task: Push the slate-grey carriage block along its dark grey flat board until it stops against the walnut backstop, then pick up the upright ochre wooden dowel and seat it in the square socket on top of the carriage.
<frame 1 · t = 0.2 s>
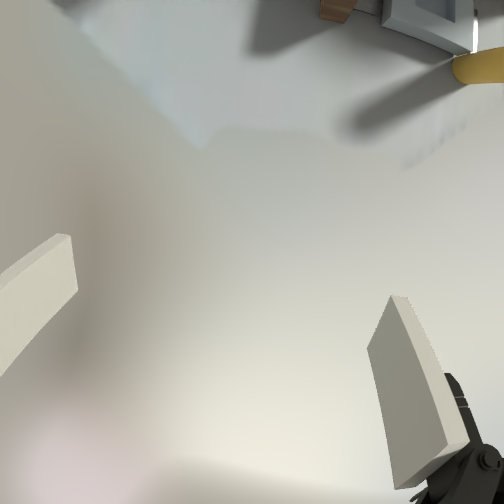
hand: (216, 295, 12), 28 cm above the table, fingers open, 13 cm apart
dark grey flat board: (419, 5, 24), on the table
carriage: (429, 1, 22), point 2 cm above the table, slide at 0.0 cm
dowel: (463, 70, 27), on the table
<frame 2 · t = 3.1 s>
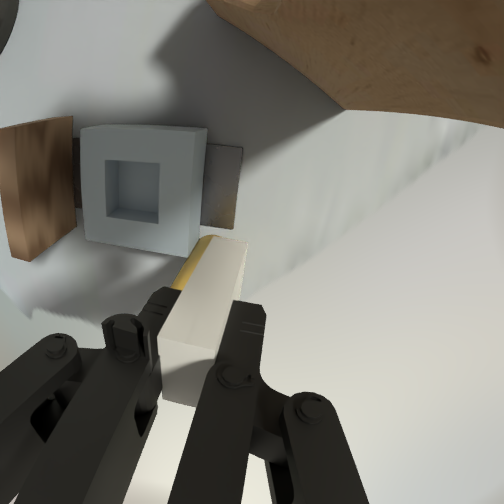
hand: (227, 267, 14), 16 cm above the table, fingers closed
decorative block: (307, 30, 22), on the table
dark grey flat board: (146, 178, 29), on the table
carriage: (140, 185, 27), point 2 cm above the table, slide at 0.0 cm
backstop: (63, 172, 29), on the table
dowel: (213, 252, 32), on the table
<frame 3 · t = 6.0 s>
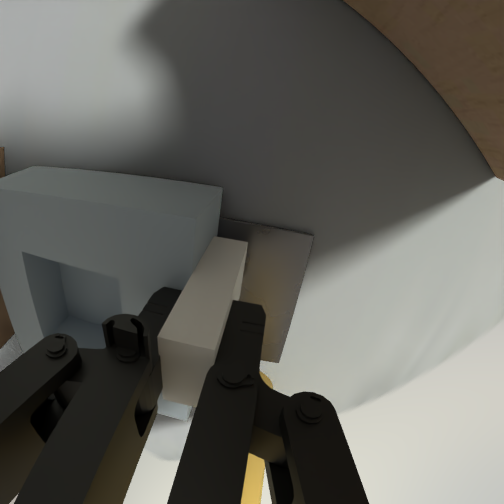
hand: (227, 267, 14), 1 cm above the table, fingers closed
decorative block: (443, 16, 9), on the table
dark grey flat board: (124, 271, 16), on the table
carriage: (95, 292, 14), point 2 cm above the table, slide at 1.0 cm, touching gripper
backstop: (0, 238, 16), on the table
dowel: (241, 386, 19), on the table
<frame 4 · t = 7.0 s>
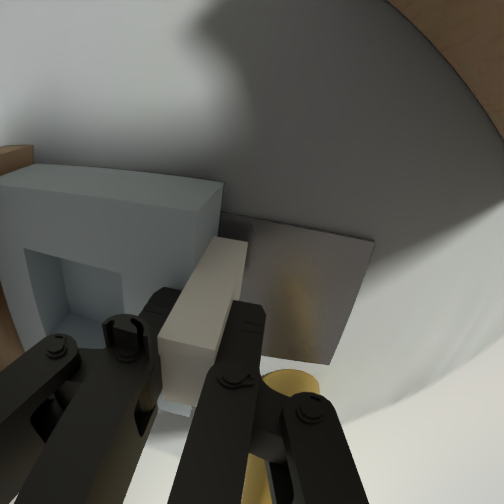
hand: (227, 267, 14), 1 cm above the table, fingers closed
decorative block: (487, 37, 9), on the table
dark grey flat board: (175, 278, 16), on the table
carriage: (96, 289, 14), point 2 cm above the table, slide at 3.9 cm, touching gripper
backstop: (26, 243, 16), on the table
dowel: (288, 389, 19), on the table
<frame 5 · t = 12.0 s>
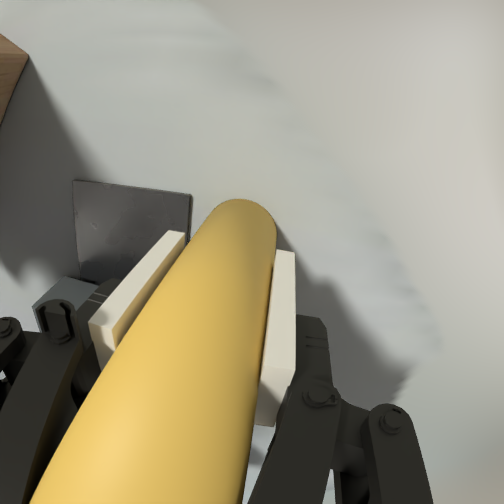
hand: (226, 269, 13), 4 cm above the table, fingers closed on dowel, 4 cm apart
dark grey flat board: (131, 313, 21), on the table
carriage: (123, 368, 20), point 2 cm above the table, slide at 3.9 cm
dowel: (240, 233, 17), on the table, touching gripper
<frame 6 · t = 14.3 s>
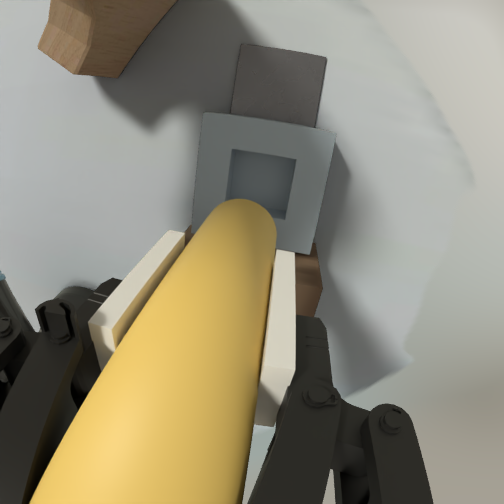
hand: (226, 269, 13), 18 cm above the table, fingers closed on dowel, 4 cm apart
decorative block: (137, 10, 23), on the table
dark grey flat board: (268, 140, 28), on the table
carriage: (261, 179, 27), point 2 cm above the table, slide at 3.9 cm
backstop: (252, 244, 33), on the table
dowel: (240, 233, 17), point 14 cm above the table, touching gripper
when the fingers open (7 cm above the table, at t = 16.5 s): dowel drops 1 cm, resting on carriage.
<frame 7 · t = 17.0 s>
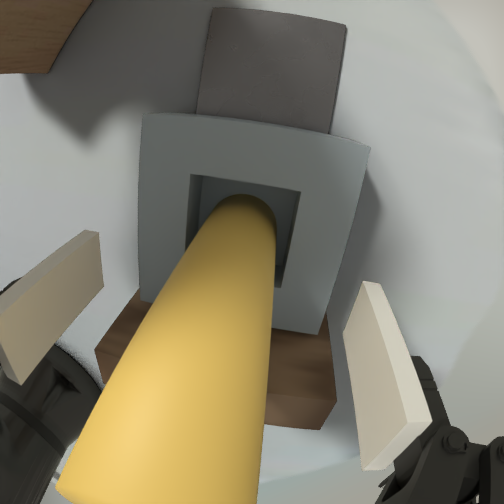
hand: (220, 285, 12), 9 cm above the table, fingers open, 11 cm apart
dark grey flat board: (256, 154, 18), on the table
carriage: (243, 220, 17), point 2 cm above the table, slide at 3.9 cm, touching dowel
backstop: (234, 304, 23), on the table
dowel: (242, 226, 18), point 2 cm above the table, touching carriage
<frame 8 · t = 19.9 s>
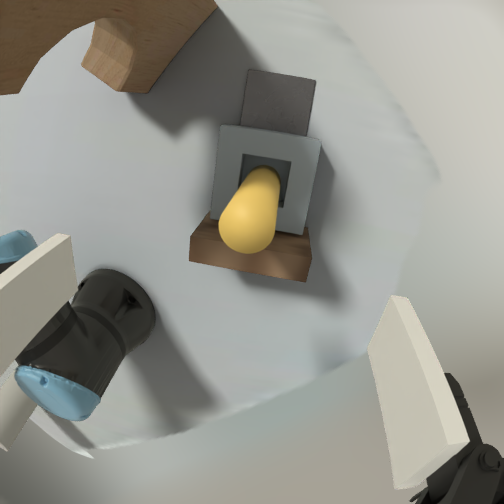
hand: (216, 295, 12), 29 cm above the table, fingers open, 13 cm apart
decorative block: (162, 36, 31), on the table
dark grey flat board: (270, 146, 36), on the table
carriage: (264, 177, 36), point 2 cm above the table, slide at 3.9 cm, touching dowel
backstop: (256, 229, 41), on the table
cylinder vase: (29, 382, 71), on the table
dowel: (263, 181, 36), point 2 cm above the table, touching carriage
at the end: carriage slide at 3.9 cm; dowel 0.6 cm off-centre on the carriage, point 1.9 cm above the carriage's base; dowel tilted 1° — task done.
